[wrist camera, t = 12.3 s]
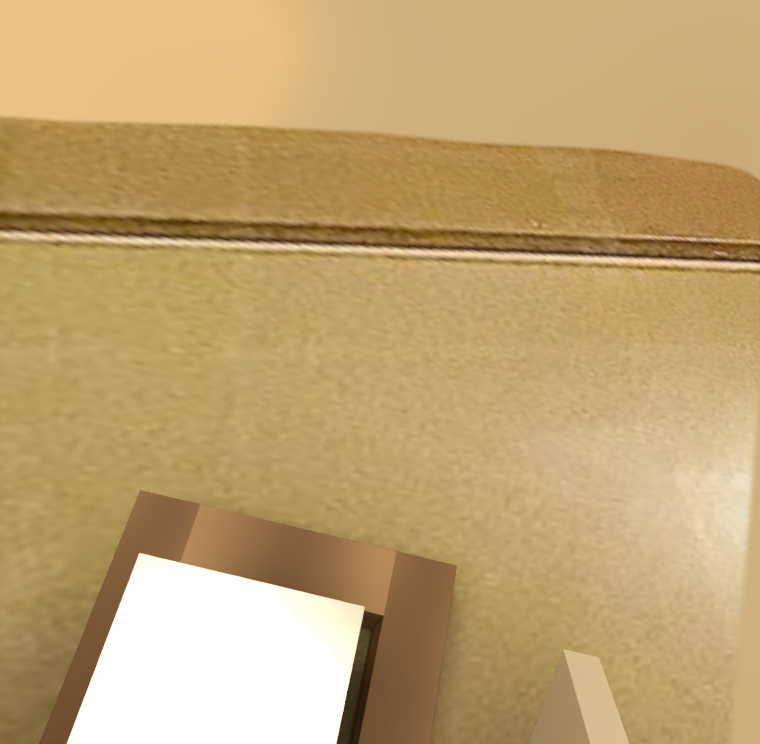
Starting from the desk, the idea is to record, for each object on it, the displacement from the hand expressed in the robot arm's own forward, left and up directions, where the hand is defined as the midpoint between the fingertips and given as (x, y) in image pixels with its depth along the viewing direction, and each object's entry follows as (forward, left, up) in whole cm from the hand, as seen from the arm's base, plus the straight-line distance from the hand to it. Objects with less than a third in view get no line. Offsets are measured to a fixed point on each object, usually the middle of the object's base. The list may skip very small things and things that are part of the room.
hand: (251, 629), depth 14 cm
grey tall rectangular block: (0, -2, -10) cm, 10 cm away
